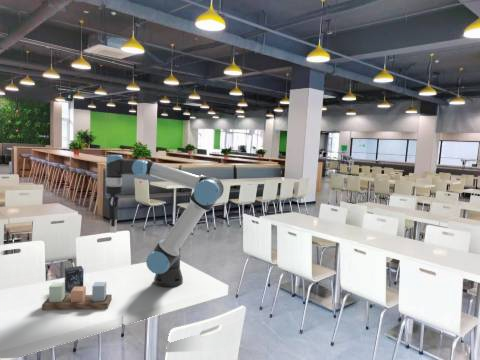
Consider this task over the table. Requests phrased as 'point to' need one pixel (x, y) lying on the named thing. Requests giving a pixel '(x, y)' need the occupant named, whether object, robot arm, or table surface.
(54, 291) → the pale green block
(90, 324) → the table surface
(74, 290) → the orange block
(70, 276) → the box
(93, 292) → the slate button
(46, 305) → the panel
